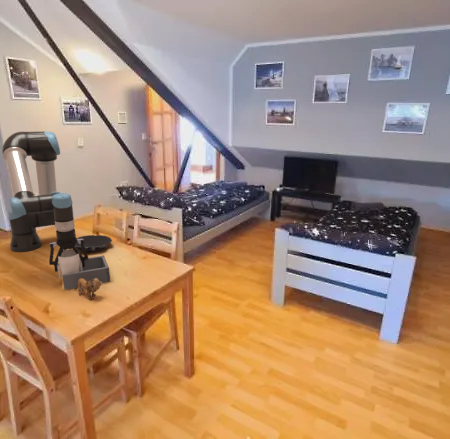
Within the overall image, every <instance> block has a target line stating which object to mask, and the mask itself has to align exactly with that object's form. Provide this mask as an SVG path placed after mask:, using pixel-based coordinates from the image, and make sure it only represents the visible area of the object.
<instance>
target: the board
mask: <svg viewBox="0 0 450 439" xmlns="http://www.w3.org/2000/svg"><path fill="white" fill-rule="evenodd" d="M76 238H77V239H81V238H83V240H84V247H85V250H86V252H87V254H88V253H98V252H101V251H103V250H105V249H106V248H107V247H108V244H111V243H112V242H113V239H112V238H111V237H109V236H107V235H102V234H96V235H94V234H89V235H82V236H79V237H76ZM75 246H76V248H77V249H78V251H79V252H80V253H83V250H82V247H81V244H79V242H77V243H76V244H75Z"/></svg>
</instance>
